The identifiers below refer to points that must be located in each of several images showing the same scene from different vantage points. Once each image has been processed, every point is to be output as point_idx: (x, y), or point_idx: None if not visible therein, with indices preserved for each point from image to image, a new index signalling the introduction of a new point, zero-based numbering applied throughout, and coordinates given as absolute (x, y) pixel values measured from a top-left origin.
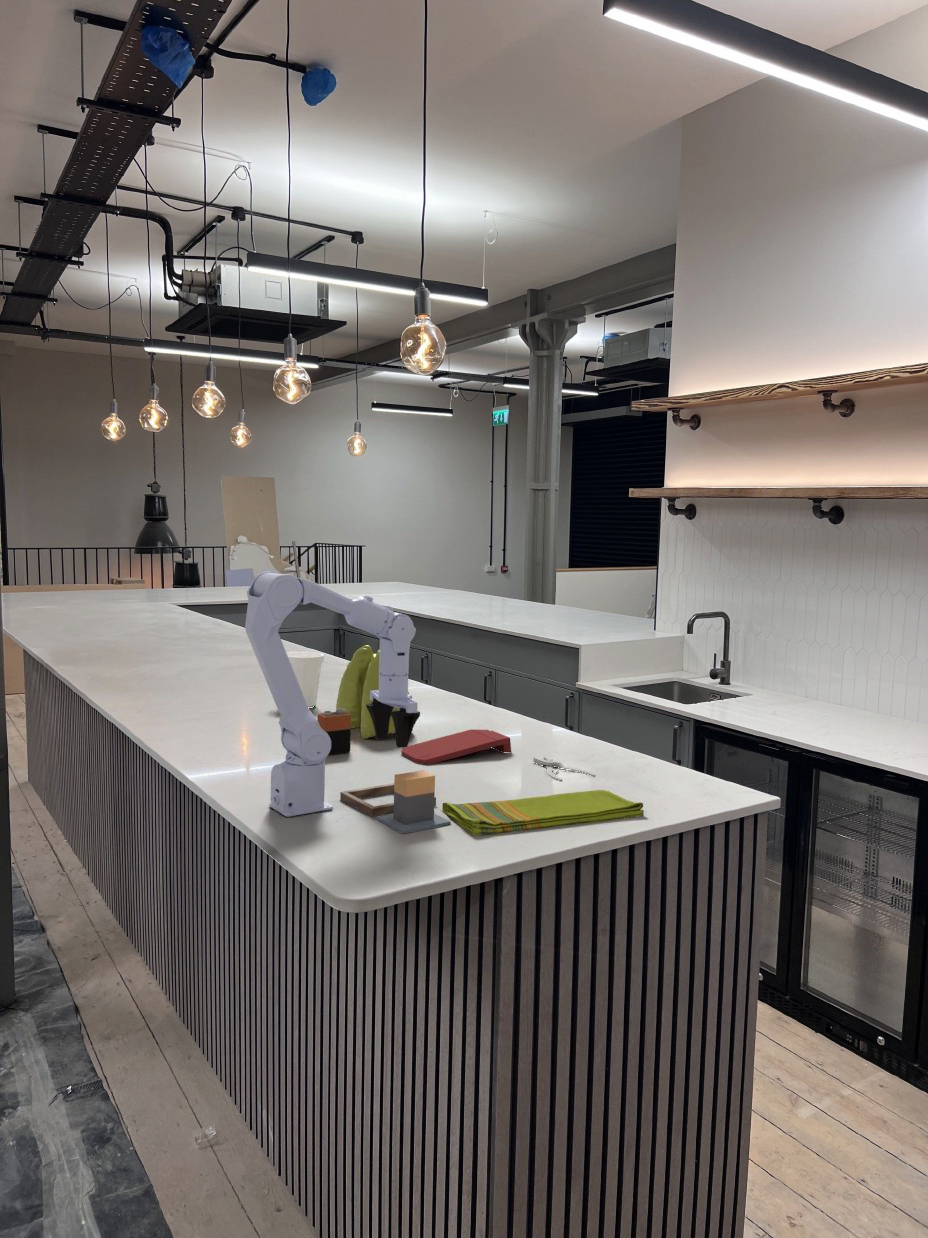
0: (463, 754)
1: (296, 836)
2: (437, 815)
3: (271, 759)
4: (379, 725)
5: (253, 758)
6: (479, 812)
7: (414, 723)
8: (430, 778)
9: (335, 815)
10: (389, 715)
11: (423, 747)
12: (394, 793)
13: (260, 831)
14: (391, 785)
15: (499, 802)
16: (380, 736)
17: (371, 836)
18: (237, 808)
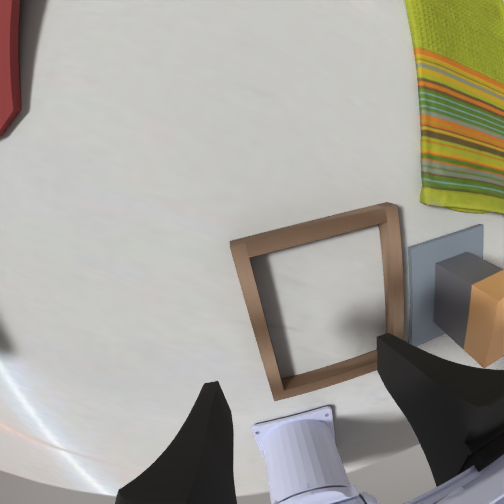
0: (18, 11)
1: (404, 435)
2: (456, 236)
3: (5, 406)
4: (226, 454)
5: (7, 422)
6: (472, 147)
7: (474, 371)
8: None
9: (356, 401)
10: (205, 460)
11: None
12: (462, 346)
13: (365, 465)
14: (256, 287)
15: (434, 68)
16: (228, 413)
17: (457, 357)
18: (264, 487)
